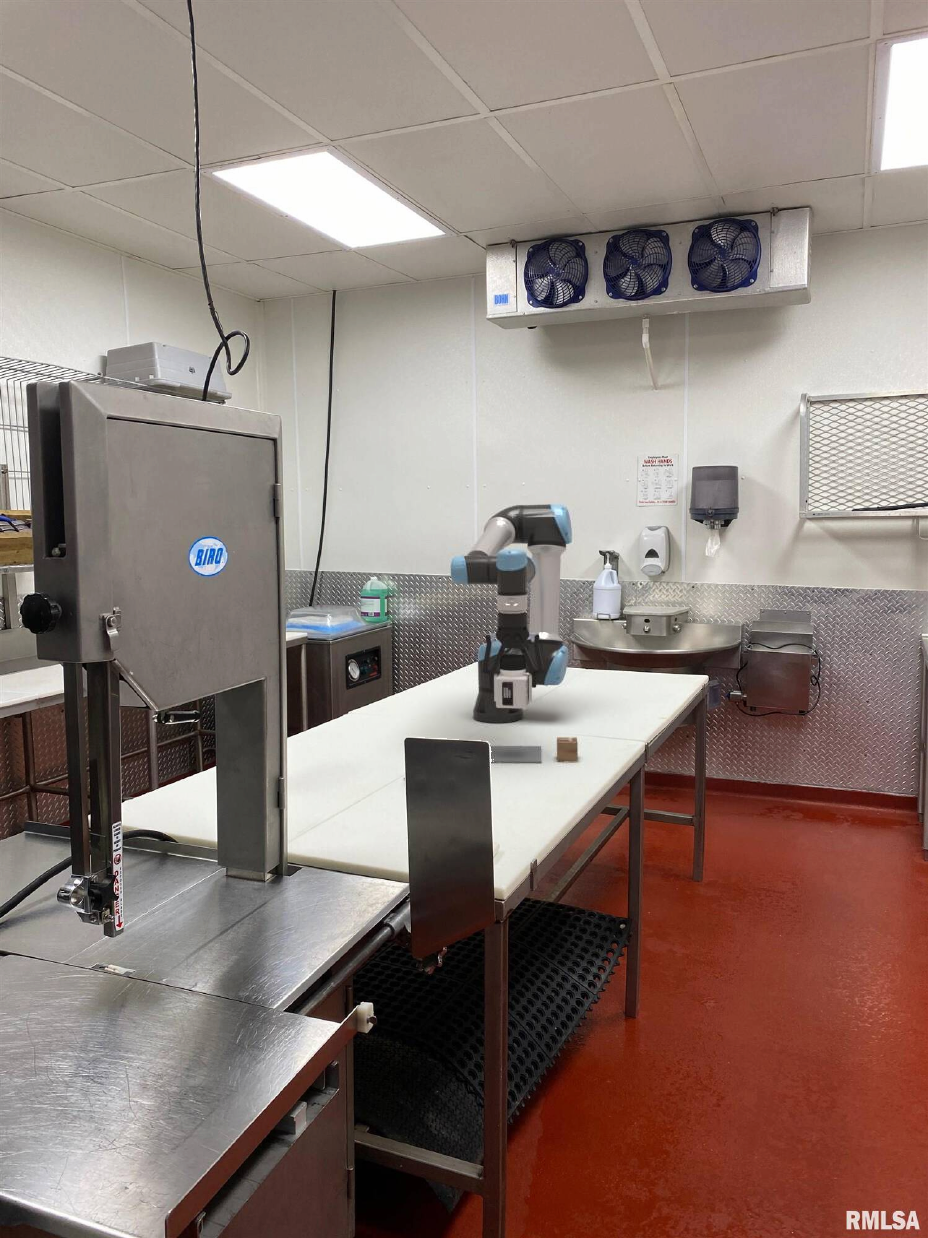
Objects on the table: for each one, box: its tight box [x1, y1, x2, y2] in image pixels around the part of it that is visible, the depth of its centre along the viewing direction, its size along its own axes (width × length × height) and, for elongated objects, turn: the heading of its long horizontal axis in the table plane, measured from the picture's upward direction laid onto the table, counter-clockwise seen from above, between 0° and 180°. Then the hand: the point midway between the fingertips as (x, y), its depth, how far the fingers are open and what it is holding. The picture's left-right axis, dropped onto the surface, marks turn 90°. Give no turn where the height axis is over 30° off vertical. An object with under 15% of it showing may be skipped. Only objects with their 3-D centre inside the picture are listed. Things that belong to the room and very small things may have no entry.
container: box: [496, 654, 531, 710], centre depth 220 cm, size 8×8×13 cm
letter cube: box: [556, 736, 579, 763], centre depth 218 cm, size 5×5×5 cm
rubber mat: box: [490, 745, 542, 764], centre depth 222 cm, size 14×14×1 cm
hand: (513, 700), depth 220 cm, fingers closed on container, 8 cm apart
